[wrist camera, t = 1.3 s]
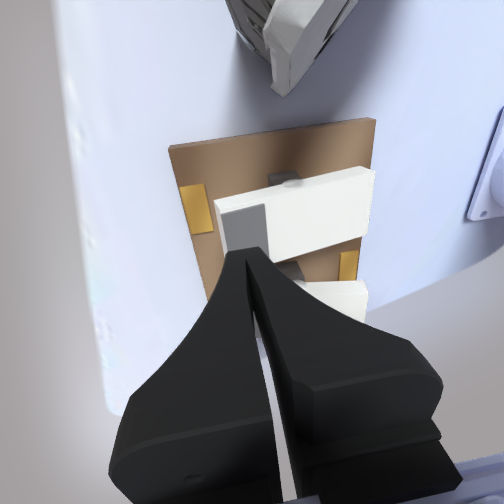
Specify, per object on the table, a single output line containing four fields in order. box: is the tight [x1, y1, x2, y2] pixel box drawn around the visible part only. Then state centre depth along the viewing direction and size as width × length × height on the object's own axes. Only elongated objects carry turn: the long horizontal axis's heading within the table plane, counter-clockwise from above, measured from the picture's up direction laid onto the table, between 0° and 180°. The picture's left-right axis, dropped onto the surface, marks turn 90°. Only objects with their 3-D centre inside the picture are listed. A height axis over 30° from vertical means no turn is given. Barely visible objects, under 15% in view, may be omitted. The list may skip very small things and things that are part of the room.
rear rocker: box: [253, 280, 369, 337], centre depth 18 cm, size 8×4×2 cm, turn 96°
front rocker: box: [213, 166, 376, 263], centre depth 14 cm, size 8×4×2 cm, turn 96°
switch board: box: [168, 117, 376, 301], centre depth 18 cm, size 12×13×3 cm
